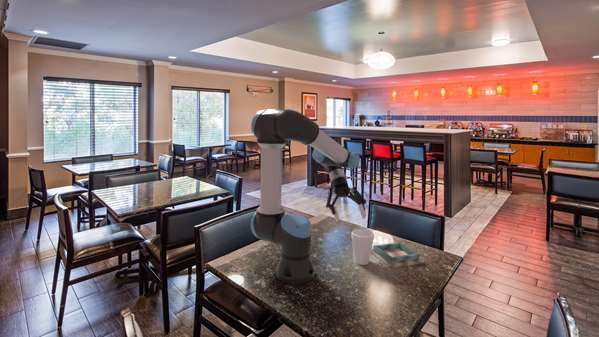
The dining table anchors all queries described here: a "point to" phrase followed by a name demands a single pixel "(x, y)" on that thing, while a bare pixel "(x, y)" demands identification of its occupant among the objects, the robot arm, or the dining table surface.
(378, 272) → the dining table surface
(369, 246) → the foam cup
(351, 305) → the dining table surface
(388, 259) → the plate
